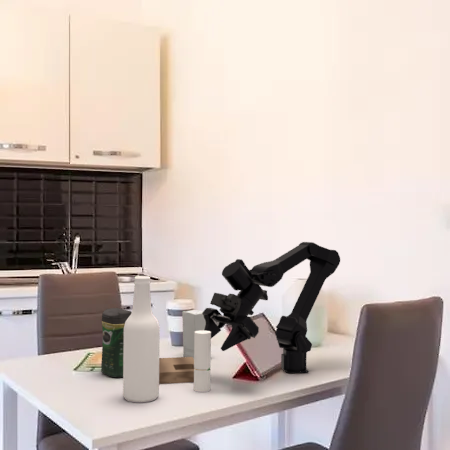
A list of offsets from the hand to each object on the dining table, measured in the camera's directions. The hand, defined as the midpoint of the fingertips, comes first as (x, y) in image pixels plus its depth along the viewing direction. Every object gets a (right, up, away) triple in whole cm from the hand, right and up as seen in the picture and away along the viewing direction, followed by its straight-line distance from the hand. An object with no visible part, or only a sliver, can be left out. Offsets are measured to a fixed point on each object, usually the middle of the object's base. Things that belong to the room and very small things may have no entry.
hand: (211, 346), depth 154 cm
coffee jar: (-27, -10, +13) cm, 32 cm away
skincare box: (-6, -10, +33) cm, 35 cm away
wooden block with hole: (-11, -10, +12) cm, 20 cm away
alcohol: (-17, -11, -9) cm, 22 cm away
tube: (-2, -11, -2) cm, 11 cm away
